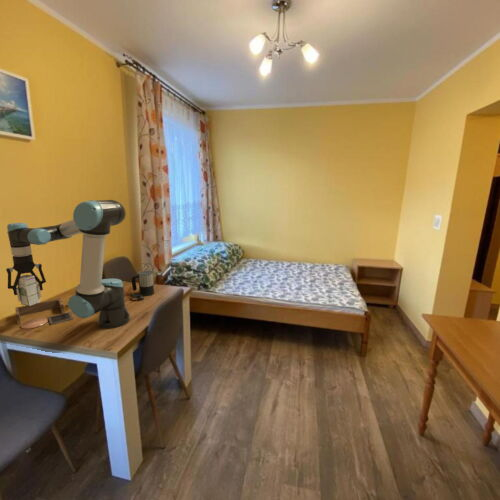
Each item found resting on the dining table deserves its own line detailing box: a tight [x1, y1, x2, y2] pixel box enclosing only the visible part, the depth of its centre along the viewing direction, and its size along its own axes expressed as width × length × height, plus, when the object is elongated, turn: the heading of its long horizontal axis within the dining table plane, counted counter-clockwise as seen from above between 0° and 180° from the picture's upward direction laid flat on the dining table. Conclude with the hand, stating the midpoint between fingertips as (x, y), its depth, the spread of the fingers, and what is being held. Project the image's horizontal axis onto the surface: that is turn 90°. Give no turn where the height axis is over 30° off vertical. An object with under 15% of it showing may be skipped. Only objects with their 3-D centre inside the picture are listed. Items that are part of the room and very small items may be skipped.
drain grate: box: [47, 311, 74, 326], centre depth 147 cm, size 10×10×1 cm
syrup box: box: [17, 274, 41, 306], centre depth 137 cm, size 6×6×14 cm
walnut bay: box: [15, 298, 66, 325], centre depth 151 cm, size 12×20×5 cm, turn 131°
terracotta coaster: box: [20, 317, 49, 330], centre depth 141 cm, size 11×11×1 cm
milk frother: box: [130, 270, 155, 300], centre depth 177 cm, size 14×16×15 cm
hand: (30, 298), depth 138 cm, fingers closed on syrup box, 7 cm apart
